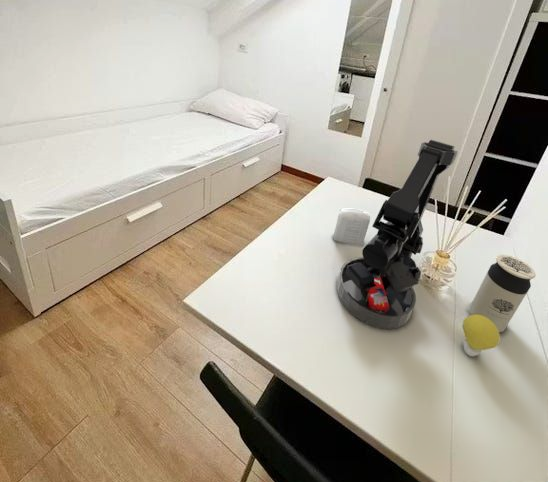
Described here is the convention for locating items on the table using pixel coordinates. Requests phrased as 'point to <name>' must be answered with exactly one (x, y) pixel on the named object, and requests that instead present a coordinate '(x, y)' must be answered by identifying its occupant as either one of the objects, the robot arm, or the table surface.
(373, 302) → the race car
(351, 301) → the pan
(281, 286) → the table surface
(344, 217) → the white ribbed slab
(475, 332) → the light bulb
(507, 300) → the white canister
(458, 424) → the table surface
